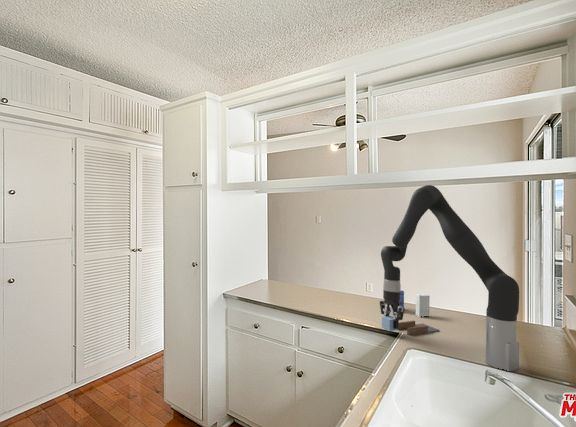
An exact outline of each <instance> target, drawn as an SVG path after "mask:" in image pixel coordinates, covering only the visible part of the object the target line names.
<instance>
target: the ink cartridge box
mask: <svg viewBox="0 0 576 427" xmlns="http://www.w3.org/2000/svg"><path fill="white" fill-rule="evenodd" d="M399 305H400V306H401V307H404V308H405V291H404V290H402V289H401V293H400V301H399Z"/></svg>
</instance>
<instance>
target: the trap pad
mask: <svg viewBox="0 0 576 427" xmlns="http://www.w3.org/2000/svg"><path fill="white" fill-rule="evenodd" d="M424 325H427V324H426V323H418V324H417V323H415V327H417V326H424ZM427 326H428V332H427V333H435V332H436V333H437V331H438V332H440V331H441V330H440V329H438V328H435V327H433V326H430V325H427Z"/></svg>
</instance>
